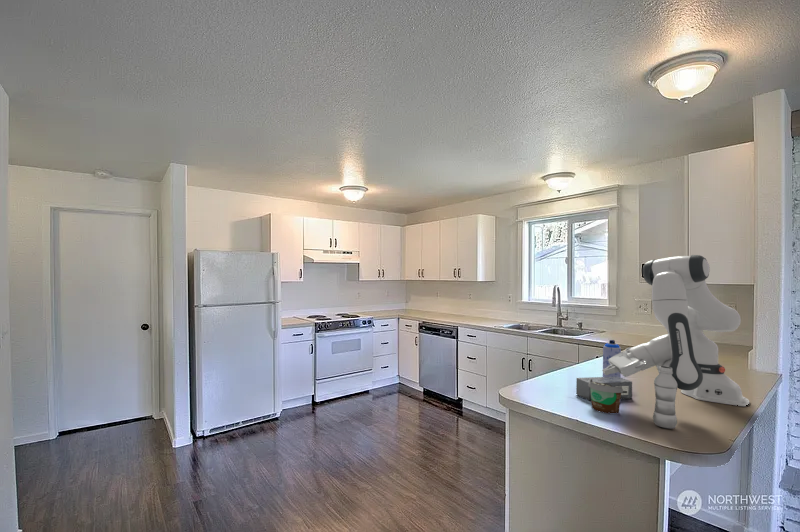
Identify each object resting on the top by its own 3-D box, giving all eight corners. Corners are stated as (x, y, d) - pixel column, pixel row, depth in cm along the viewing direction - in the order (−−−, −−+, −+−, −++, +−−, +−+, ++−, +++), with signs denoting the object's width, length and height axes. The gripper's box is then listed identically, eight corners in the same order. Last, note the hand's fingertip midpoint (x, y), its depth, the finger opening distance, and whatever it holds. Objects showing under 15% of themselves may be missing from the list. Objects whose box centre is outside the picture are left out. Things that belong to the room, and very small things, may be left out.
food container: (581, 407, 149) (581, 380, 149) (590, 404, 152) (590, 378, 152) (614, 417, 139) (614, 389, 139) (622, 414, 142) (623, 386, 142)
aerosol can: (622, 386, 179) (623, 342, 179) (603, 383, 182) (603, 340, 182) (619, 381, 186) (620, 339, 187) (601, 379, 189) (601, 338, 189)
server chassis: (617, 392, 168) (617, 376, 168) (632, 399, 160) (633, 381, 160) (576, 394, 164) (576, 377, 164) (590, 401, 156) (590, 383, 156)
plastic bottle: (655, 421, 135) (656, 363, 136) (678, 427, 130) (679, 367, 131) (650, 426, 131) (651, 366, 131) (674, 432, 126) (675, 370, 126)
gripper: (653, 371, 137) (614, 386, 140) (636, 361, 157) (602, 374, 160) (643, 354, 138) (605, 370, 141) (627, 346, 158) (594, 360, 161)
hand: (603, 372), depth 151 cm, fingers closed
